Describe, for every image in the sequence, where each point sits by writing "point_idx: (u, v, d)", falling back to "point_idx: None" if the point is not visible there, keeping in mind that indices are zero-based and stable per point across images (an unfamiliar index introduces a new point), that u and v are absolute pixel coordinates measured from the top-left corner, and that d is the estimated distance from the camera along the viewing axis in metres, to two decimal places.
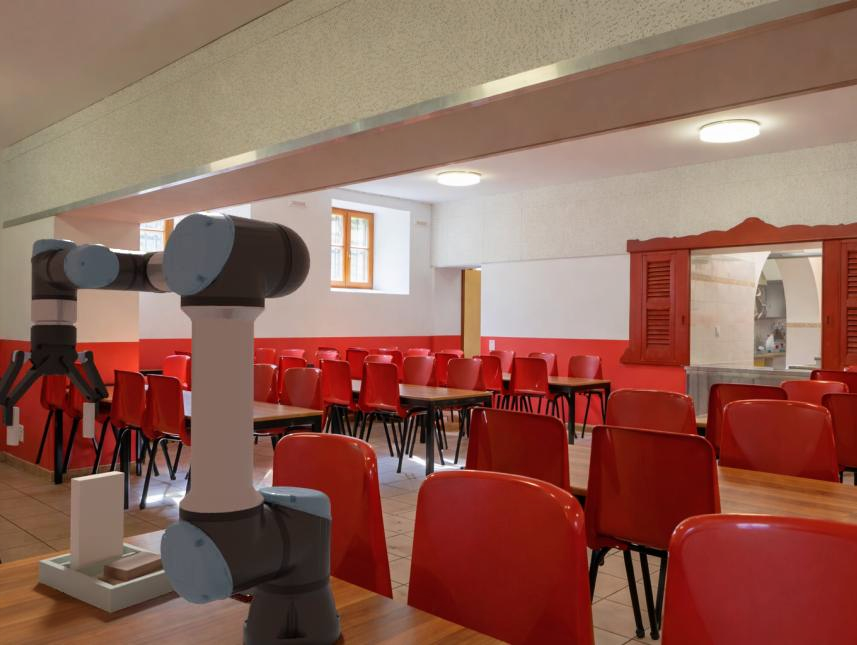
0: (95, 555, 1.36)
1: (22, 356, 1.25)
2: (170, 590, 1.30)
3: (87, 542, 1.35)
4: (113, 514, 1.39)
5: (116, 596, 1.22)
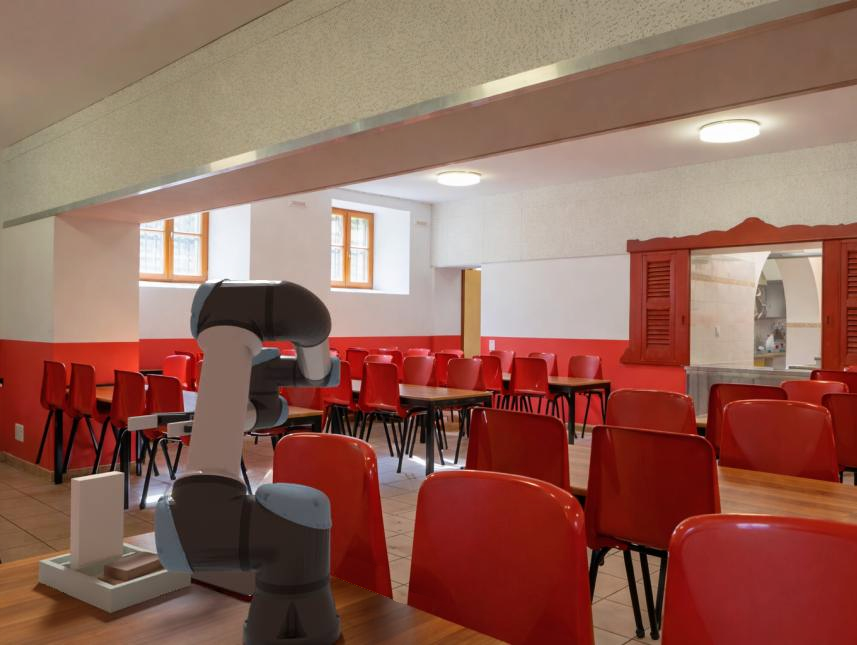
0: (95, 555, 1.36)
1: (192, 411, 1.63)
2: (170, 590, 1.30)
3: (87, 542, 1.35)
4: (113, 514, 1.39)
5: (116, 596, 1.22)
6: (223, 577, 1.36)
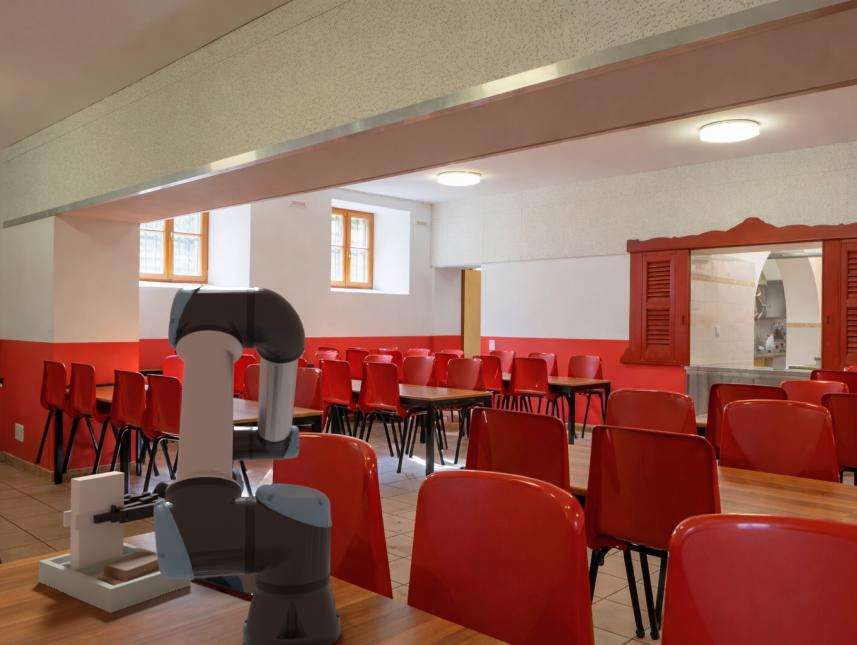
0: (95, 555, 1.36)
1: (131, 493, 1.50)
2: (170, 590, 1.30)
3: (87, 542, 1.35)
4: None
5: (116, 596, 1.22)
6: (224, 576, 1.37)
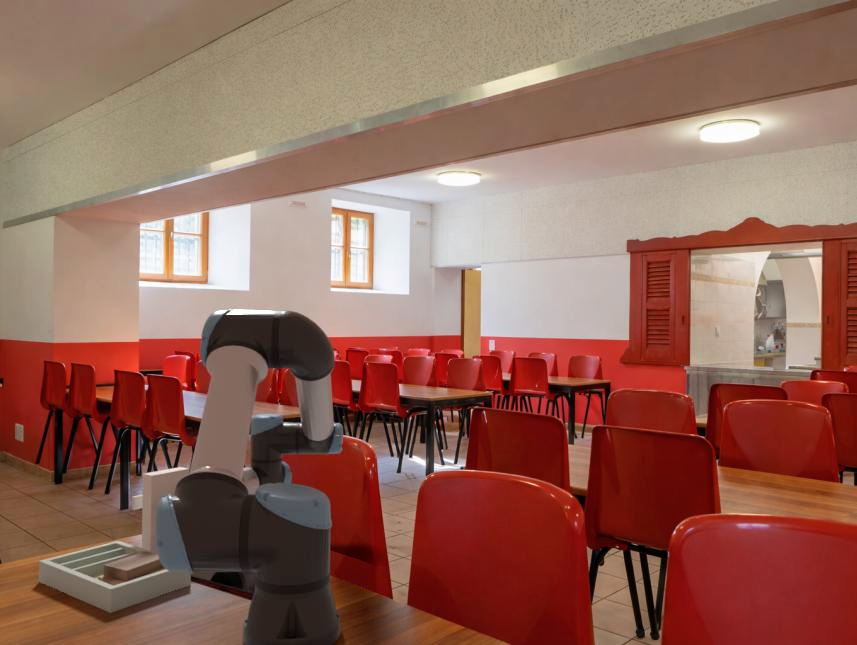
0: None
1: None
2: (170, 590, 1.30)
3: None
4: None
5: (116, 596, 1.22)
6: (226, 576, 1.37)
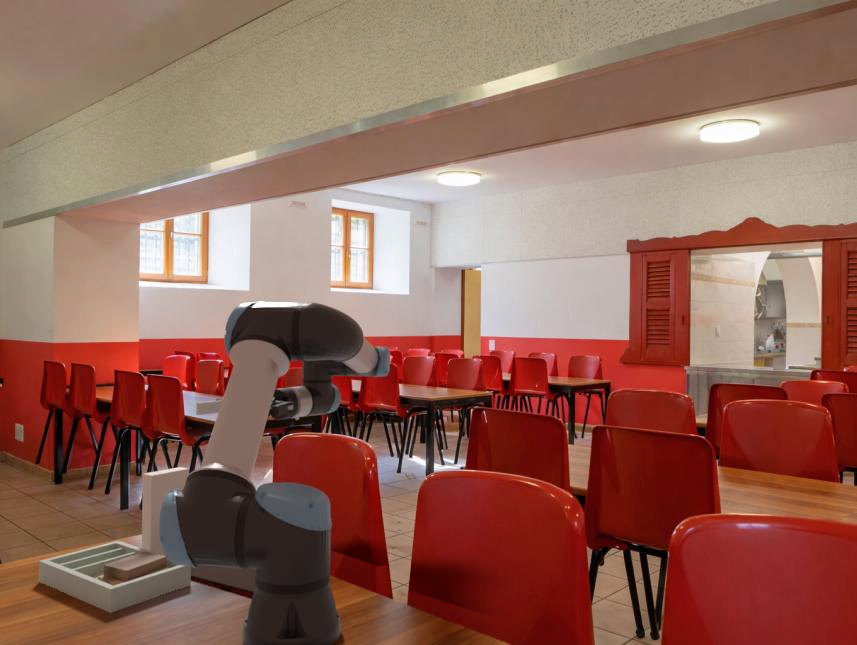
0: None
1: None
2: (170, 590, 1.30)
3: (158, 532, 1.47)
4: None
5: (116, 596, 1.22)
6: (227, 575, 1.37)
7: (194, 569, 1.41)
